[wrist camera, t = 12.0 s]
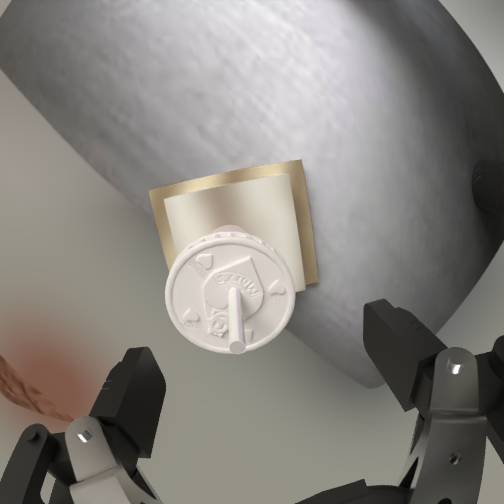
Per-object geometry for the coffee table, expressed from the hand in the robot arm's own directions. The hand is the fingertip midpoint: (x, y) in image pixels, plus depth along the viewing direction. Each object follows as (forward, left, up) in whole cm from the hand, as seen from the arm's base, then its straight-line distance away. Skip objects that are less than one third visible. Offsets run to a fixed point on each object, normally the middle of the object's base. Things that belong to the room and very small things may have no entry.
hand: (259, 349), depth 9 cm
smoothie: (+1, 0, -14) cm, 14 cm away
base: (0, 0, -18) cm, 18 cm away
